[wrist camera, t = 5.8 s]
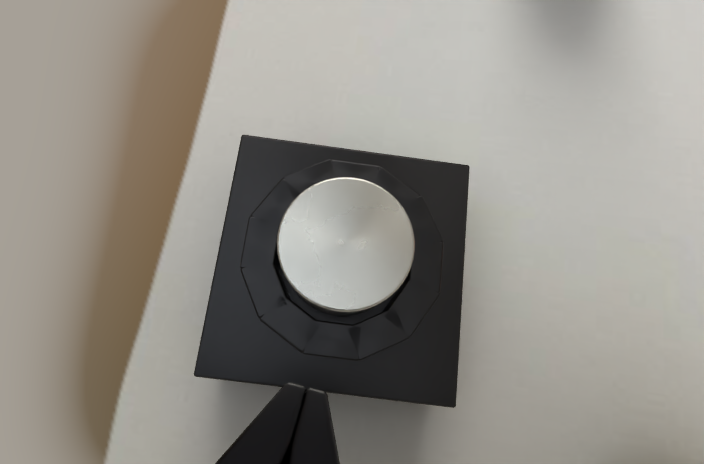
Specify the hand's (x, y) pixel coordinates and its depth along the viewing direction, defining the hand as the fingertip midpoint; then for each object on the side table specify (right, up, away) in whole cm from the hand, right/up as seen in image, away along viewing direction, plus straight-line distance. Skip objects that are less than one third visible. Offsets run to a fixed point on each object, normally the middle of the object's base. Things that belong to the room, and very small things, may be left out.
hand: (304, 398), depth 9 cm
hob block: (0, +1, +13) cm, 13 cm away
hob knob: (+1, +3, +7) cm, 8 cm away
